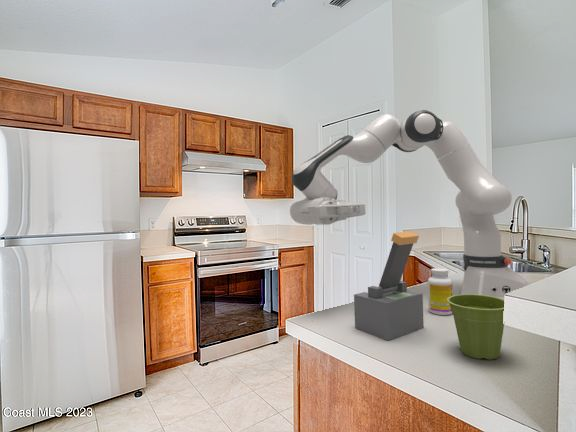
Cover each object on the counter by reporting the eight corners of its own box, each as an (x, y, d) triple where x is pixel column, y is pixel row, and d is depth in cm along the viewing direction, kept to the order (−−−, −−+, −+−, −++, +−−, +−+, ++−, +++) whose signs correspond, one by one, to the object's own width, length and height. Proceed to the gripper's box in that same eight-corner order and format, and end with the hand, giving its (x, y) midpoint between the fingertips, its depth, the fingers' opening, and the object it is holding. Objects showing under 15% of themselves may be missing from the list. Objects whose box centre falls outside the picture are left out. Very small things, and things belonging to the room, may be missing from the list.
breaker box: (355, 328, 87) (353, 285, 87) (389, 317, 95) (388, 277, 95) (388, 340, 78) (386, 292, 78) (423, 327, 86) (422, 283, 85)
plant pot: (455, 338, 78) (453, 291, 78) (515, 350, 71) (513, 298, 70) (441, 356, 69) (440, 303, 69) (509, 372, 62) (507, 312, 61)
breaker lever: (374, 290, 86) (393, 233, 80) (391, 286, 89) (410, 231, 84) (381, 296, 84) (401, 237, 78) (398, 292, 87) (419, 235, 82)
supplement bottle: (456, 316, 94) (454, 271, 93) (431, 315, 95) (430, 271, 95) (449, 309, 100) (448, 267, 100) (426, 308, 102) (425, 267, 101)
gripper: (297, 202, 101) (327, 199, 89) (346, 200, 112) (377, 198, 101) (298, 222, 101) (328, 222, 89) (347, 219, 112) (378, 218, 101)
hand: (354, 209), depth 95 cm, fingers closed
